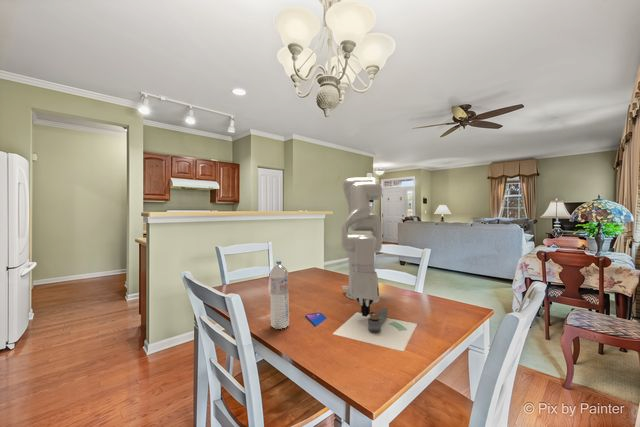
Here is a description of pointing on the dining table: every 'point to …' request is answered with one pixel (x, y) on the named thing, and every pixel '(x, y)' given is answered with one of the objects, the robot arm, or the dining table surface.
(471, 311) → the dining table surface
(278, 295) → the water bottle
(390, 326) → the dial plate
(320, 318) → the smartphone
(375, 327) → the grey lever handle
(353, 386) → the dining table surface
